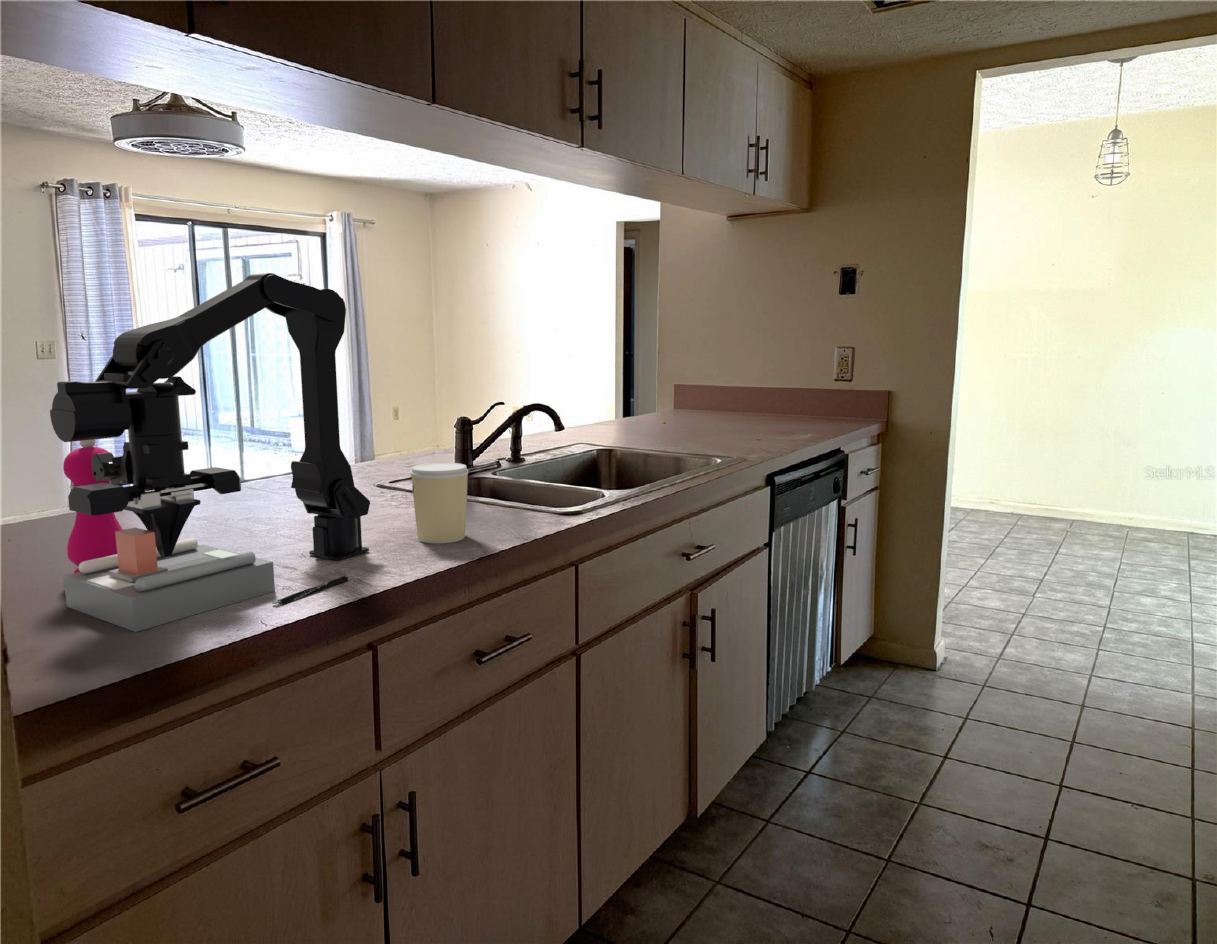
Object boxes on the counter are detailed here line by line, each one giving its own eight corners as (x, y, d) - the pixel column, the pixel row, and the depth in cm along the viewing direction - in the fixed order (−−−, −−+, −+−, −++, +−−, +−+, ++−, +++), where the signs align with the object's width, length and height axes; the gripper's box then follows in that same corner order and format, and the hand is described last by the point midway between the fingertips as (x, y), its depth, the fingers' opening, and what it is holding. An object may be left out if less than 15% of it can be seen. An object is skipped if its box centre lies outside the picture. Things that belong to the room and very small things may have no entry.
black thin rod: (277, 609, 102) (277, 601, 101) (271, 608, 102) (271, 600, 102) (348, 583, 112) (348, 576, 112) (343, 582, 113) (343, 575, 113)
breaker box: (204, 571, 116) (201, 533, 115) (274, 590, 108) (272, 549, 107) (66, 606, 101) (61, 562, 100) (135, 632, 93) (130, 584, 92)
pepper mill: (142, 572, 116) (129, 432, 113) (113, 588, 109) (98, 438, 105) (90, 572, 116) (75, 432, 112) (58, 588, 109) (41, 439, 105)
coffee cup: (436, 528, 142) (434, 460, 140) (481, 534, 138) (479, 464, 136) (400, 540, 134) (397, 468, 132) (447, 547, 130) (444, 473, 128)
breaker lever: (145, 567, 104) (141, 525, 103) (168, 573, 101) (164, 531, 100) (109, 575, 100) (104, 532, 99) (131, 582, 97) (127, 538, 96)
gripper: (191, 423, 113) (199, 533, 115) (39, 436, 97) (53, 563, 100) (239, 428, 107) (247, 544, 109) (86, 443, 91) (100, 578, 94)
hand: (165, 556), depth 103 cm, fingers closed
